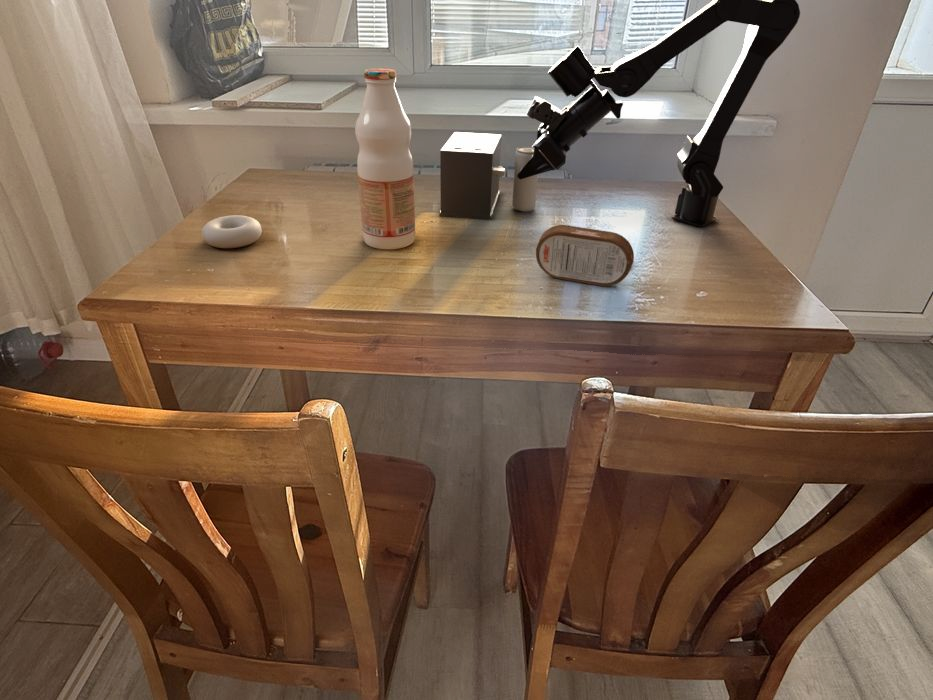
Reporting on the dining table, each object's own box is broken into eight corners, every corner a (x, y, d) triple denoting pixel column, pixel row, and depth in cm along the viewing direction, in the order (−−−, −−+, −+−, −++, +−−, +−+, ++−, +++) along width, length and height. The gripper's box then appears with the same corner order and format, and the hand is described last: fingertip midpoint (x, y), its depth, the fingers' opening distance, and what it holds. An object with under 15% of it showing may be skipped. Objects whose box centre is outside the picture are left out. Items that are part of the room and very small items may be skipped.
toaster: (508, 194, 128) (511, 134, 121) (500, 220, 115) (504, 153, 108) (453, 191, 130) (453, 130, 123) (439, 216, 116) (439, 149, 109)
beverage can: (532, 213, 118) (537, 153, 112) (509, 210, 120) (512, 150, 113) (537, 206, 122) (542, 147, 116) (515, 203, 124) (519, 145, 117)
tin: (629, 283, 92) (638, 233, 87) (627, 292, 89) (636, 240, 85) (536, 269, 96) (540, 220, 91) (531, 276, 93) (536, 226, 89)
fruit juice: (360, 250, 101) (345, 73, 86) (366, 230, 109) (353, 65, 93) (414, 250, 101) (408, 74, 86) (416, 231, 109) (411, 66, 94)
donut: (235, 256, 98) (275, 235, 106) (231, 237, 96) (271, 217, 104) (191, 245, 101) (233, 226, 109) (186, 227, 100) (229, 208, 107)
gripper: (556, 75, 115) (498, 130, 122) (553, 89, 100) (487, 152, 107) (590, 118, 118) (532, 170, 126) (593, 139, 103) (527, 196, 110)
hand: (520, 171), depth 117 cm, fingers open, 9 cm apart
